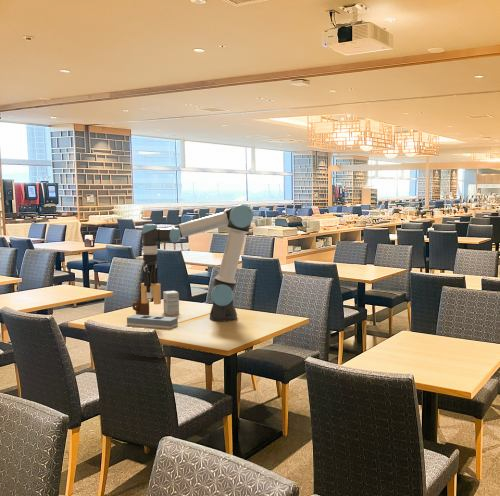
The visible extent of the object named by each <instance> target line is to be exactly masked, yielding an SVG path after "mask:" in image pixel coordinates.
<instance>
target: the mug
mask: <svg viewBox="0 0 500 496" xmlns="http://www.w3.org/2000/svg"><path fill="white" fill-rule="evenodd" d="M131 307H132V309H133V311H135V315H149V316H150V300H149V299H148V303H146V304H145V303H141V298H137V299H135V301H133V303H132V306H131Z"/></svg>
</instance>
